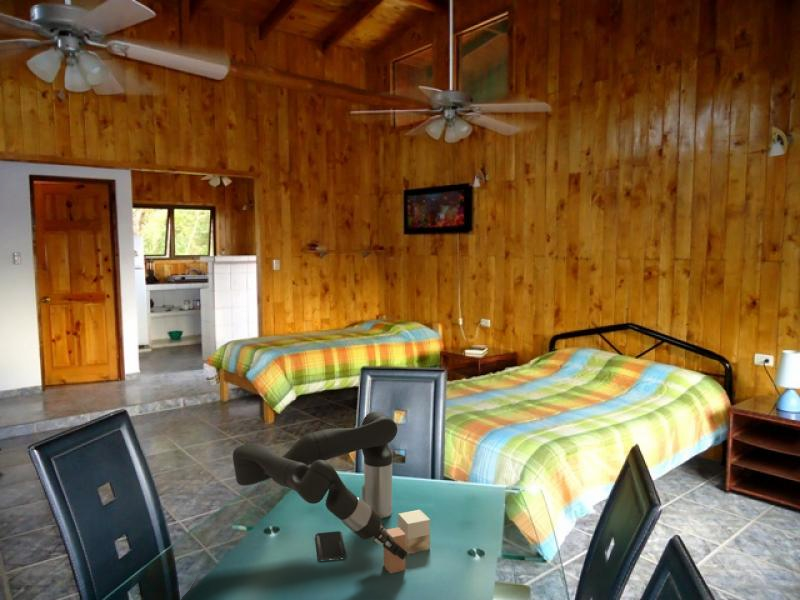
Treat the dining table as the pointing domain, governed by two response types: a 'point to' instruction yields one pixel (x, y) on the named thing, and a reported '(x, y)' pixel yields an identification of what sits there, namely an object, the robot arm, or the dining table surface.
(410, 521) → the tower top
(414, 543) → the tower base
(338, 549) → the phone
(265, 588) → the dining table surface
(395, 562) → the stack block
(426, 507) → the dining table surface
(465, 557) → the dining table surface
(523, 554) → the dining table surface
